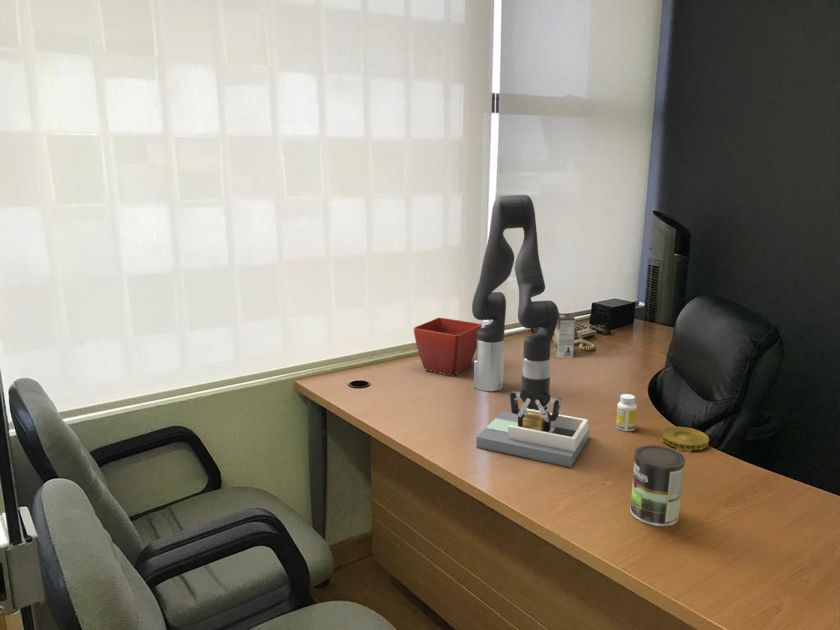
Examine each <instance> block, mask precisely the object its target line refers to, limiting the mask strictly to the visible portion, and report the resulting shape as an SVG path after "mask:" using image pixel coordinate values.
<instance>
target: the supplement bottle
mask: <svg viewBox="0 0 840 630" xmlns="http://www.w3.org/2000/svg"><path fill="white" fill-rule="evenodd" d="M619 399H620V401H619V402H618V403H617V405H616V406H617V408H616V422H615V423H616V424H615V427H616V429H618V430H619V431H623V432H633V431H635V429H636V426H637V425H636V424H637V415H638V414H637V412H638V411H637V410H638V408H637V407H638V406H637V403H636V396H635V395H633V394H629V393H623V394H620V398H619Z"/></svg>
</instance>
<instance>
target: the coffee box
mask: <svg viewBox="0 0 840 630" xmlns="http://www.w3.org/2000/svg"><path fill="white" fill-rule="evenodd" d="M575 329H576V318H575V317H574V316H573V314H572V313H570V312H569V313H566V312H565V313H559V318H558V322H557V325H556V328H555V331H554V334H553V338H554V339H553V340H554V341H553V352H554V353H555V355H556V357H557V359H573V358H574V347H575V346H574V344H575V331H576V330H575Z"/></svg>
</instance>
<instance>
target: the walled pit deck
mask: <svg viewBox="0 0 840 630" xmlns="http://www.w3.org/2000/svg"><path fill="white" fill-rule="evenodd" d="M528 412H530V413H536V414H541V412H540V410H539V411H538V410H535V409H528V408H527V410H526V411H525V413H524V415H525V416H526V415H527V413H528ZM550 414H551V415H552V412H550ZM588 421H589V420H588V419H586V418H580V417H575V416H571V415H570V416H569V415H563V414H559V415H558V418H557V419H556V420H555V421H551V429H550V431H549V432H543V431H538V430H533V429H528V428H522V427H518V415H516V414H513V413H512V412H509V411H508V412H507V411H501V412H500V413H499V414H497V416H496V417H495V418H494V419H493V420H492V421H491V422H490V423H488V425H486V427H485V428H484V429H483V430H481V432H480V433H479V434H478V435H477V436H476V441H475V443H476V446H475V447H476V448H478V447H479V449H483V450H487V449H488V450H489V451H493V452H497V451H498V453H501V452H502V453H501V454H506V453H507V455H511V454H513V455H512V456H515V455H517V457H520V456H521V458H525V457H526V458H525V459H529V458H530V460H535V461H539V462H543V463H548V464H554V465H558V466H563V467H567V468H572V466H573V464H574V463H575V461H576V459H577V458H578V456H579V454H580V453H581V452H582V450H583V448H584V447H585V445H586V443H587V441H588V440H589V439H590V430H591V428H590V426H588V425H589V423H588Z"/></svg>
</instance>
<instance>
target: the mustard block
mask: <svg viewBox="0 0 840 630" xmlns="http://www.w3.org/2000/svg"><path fill="white" fill-rule="evenodd" d="M544 421H545V419H544V417H543V415H542V414H536V413H530V412H528V413H527V415H526V416H525V417H524V418H523V428H528V429H533V430H538V431H543V432H544Z"/></svg>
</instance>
